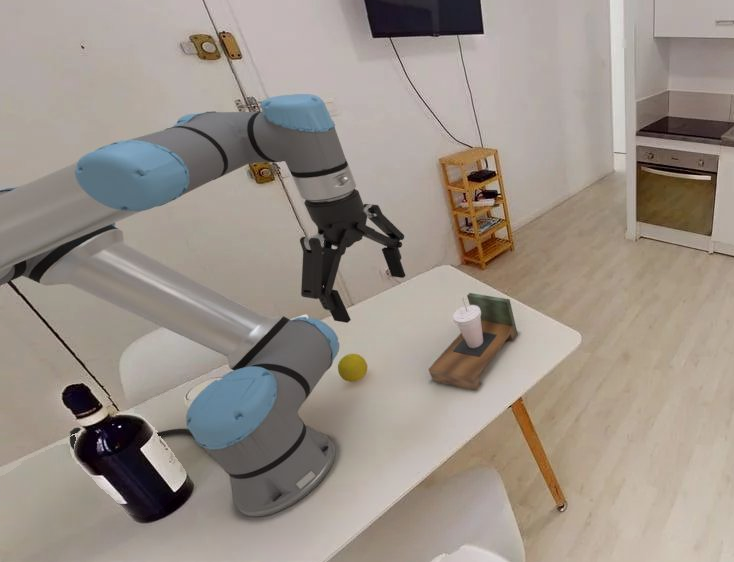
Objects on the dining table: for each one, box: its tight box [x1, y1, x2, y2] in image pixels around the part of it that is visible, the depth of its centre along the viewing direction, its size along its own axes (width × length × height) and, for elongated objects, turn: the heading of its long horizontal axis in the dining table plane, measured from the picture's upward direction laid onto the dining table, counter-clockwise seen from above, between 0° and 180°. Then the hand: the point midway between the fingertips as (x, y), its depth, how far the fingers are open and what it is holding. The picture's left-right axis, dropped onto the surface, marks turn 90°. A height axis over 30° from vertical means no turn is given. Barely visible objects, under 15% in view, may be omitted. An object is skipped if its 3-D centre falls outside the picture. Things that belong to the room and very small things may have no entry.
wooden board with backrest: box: [428, 292, 518, 391], centre depth 102 cm, size 12×19×12 cm, turn 165°
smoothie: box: [452, 296, 483, 348], centre depth 99 cm, size 6×6×14 cm
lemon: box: [337, 353, 368, 383], centre depth 97 cm, size 6×6×8 cm
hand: (372, 296), depth 77 cm, fingers open, 13 cm apart
